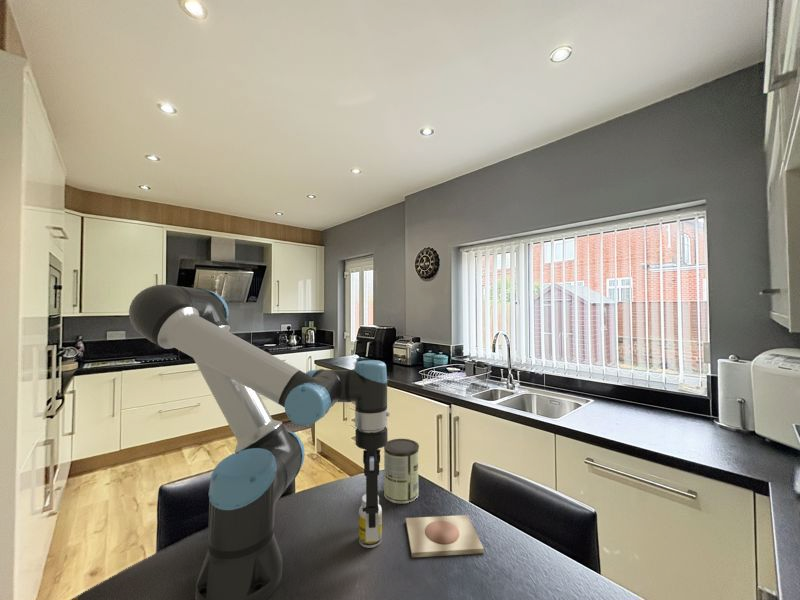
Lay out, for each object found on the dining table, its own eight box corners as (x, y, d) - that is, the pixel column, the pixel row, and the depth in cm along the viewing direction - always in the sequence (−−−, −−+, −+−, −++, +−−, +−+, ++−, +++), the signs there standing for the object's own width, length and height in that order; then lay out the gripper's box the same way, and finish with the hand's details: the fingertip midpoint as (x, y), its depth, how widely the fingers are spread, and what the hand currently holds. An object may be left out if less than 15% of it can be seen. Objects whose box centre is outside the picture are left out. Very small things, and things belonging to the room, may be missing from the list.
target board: (411, 557, 70) (411, 551, 70) (405, 522, 82) (405, 517, 82) (483, 553, 71) (483, 547, 72) (467, 519, 83) (467, 514, 83)
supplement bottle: (355, 536, 77) (355, 494, 77) (376, 530, 79) (377, 489, 79) (362, 551, 72) (363, 506, 72) (385, 544, 74) (385, 500, 74)
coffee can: (386, 483, 101) (386, 437, 101) (419, 485, 100) (419, 439, 100) (380, 502, 90) (381, 451, 91) (417, 505, 89) (418, 453, 90)
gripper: (390, 448, 64) (391, 558, 63) (385, 411, 89) (385, 490, 88) (352, 449, 64) (352, 561, 63) (357, 412, 88) (357, 491, 87)
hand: (372, 520), depth 75 cm, fingers open, 13 cm apart
